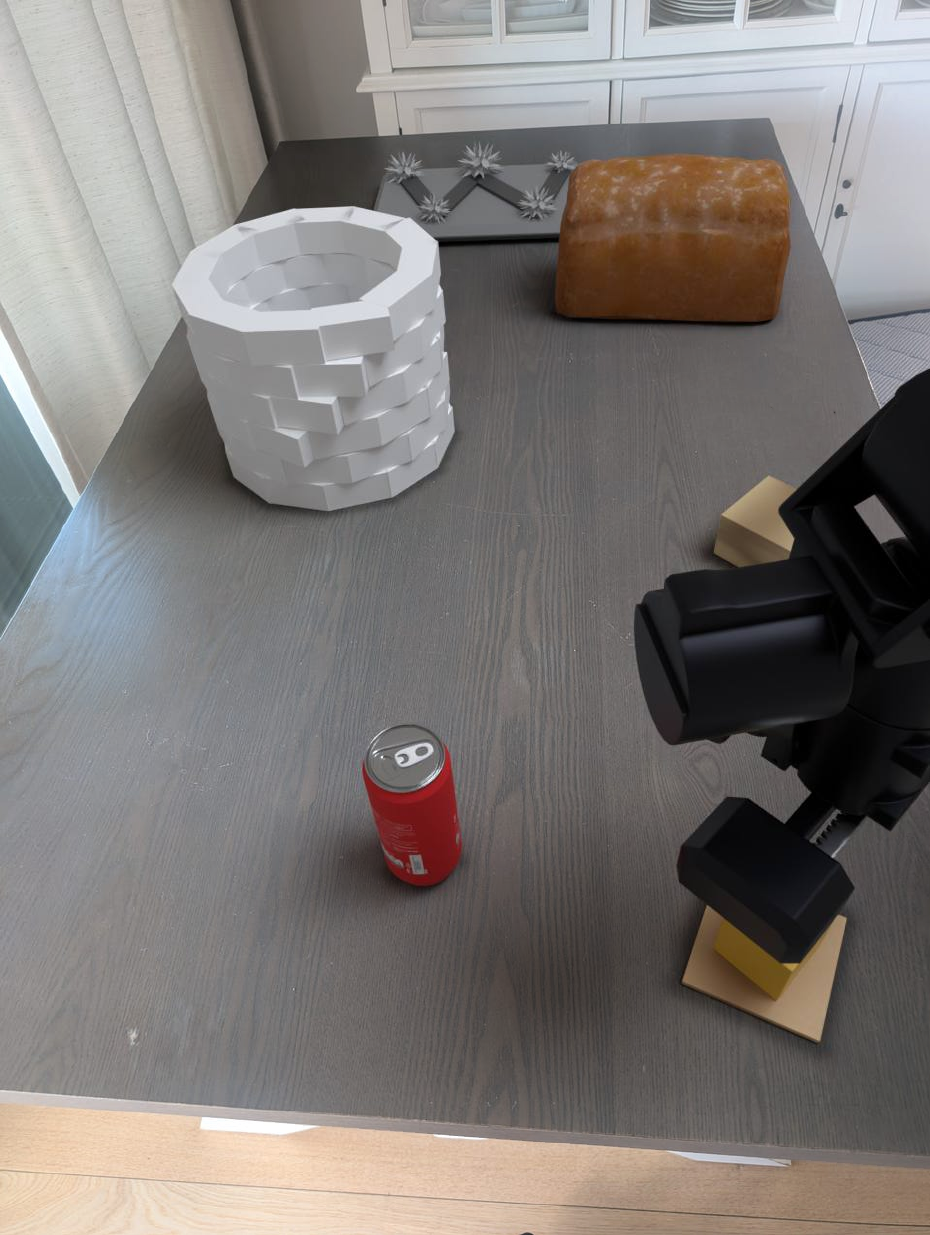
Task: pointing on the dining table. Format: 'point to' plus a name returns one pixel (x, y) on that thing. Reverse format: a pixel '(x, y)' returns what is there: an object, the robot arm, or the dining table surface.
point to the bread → (674, 239)
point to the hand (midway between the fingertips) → (811, 858)
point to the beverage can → (413, 803)
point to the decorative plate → (479, 197)
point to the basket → (322, 353)
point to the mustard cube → (758, 960)
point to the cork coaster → (792, 1011)
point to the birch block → (756, 526)
